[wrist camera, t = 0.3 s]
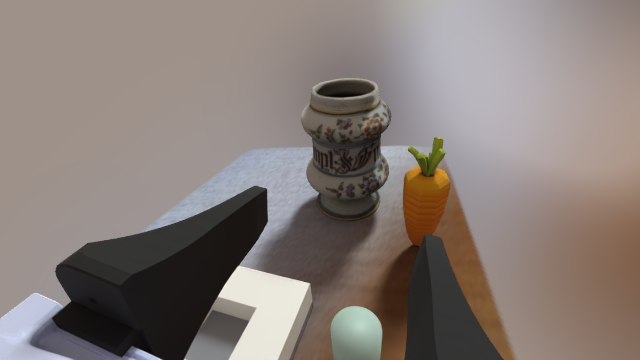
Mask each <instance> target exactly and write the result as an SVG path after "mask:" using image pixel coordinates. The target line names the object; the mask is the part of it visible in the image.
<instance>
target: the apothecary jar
mask: <svg viewBox="0 0 640 360" xmlns="http://www.w3.org/2000/svg"><path fill="white" fill-rule="evenodd" d="M390 120H391V112H390V109H389V107H388V105H387V104H386V103H385V102H384V101H383V100H382V99H380V95H379V89H378V86H377V84H376V83H374V82H372V81H369V80H365V79H356V78H346V79H336V80H330V81H326V82H322V83H319V84H317V85H315V86H314V87H313V88H312V92H311V101H310V103H309V104H308V105H307V106H306V107H305V108H304V110H303V112H302V116H301V121H302V125H303V128H304V130H305V131H306V132H307V133H308V134H309V135H310V136H311V137H312V140H313V157H312V158H311V160H310V161H309V163H308V165H307V170H306V174H307V179H308V181H309V183H310V185H311V186H312V187H313V188H314V189H315V190H316V191H318V192H319V195H318V198H317V204H318V207H319V209H320V210H321V211H322V212H323V213H324V214H326V215H327V216H329V217H331V218H334V219H338V220H357V219H361V218H364V217H366V216H368V215H370V214H372V213H373V212H374V211H375V210H376V209H377V207H378V206H379V203H380V196H379V193H378V191H377V190H378V189H380V188H381V187H382V186H383V185H384V183H385V182H386V180H387V178H388V175H389V167H388V163H387V161H386V159H385V158H384V156H383V155H382V154H381V151H380V137H381V133H383V132H384V131H385V130H386V129H387V127H388V126H389V123H390Z"/></svg>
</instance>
